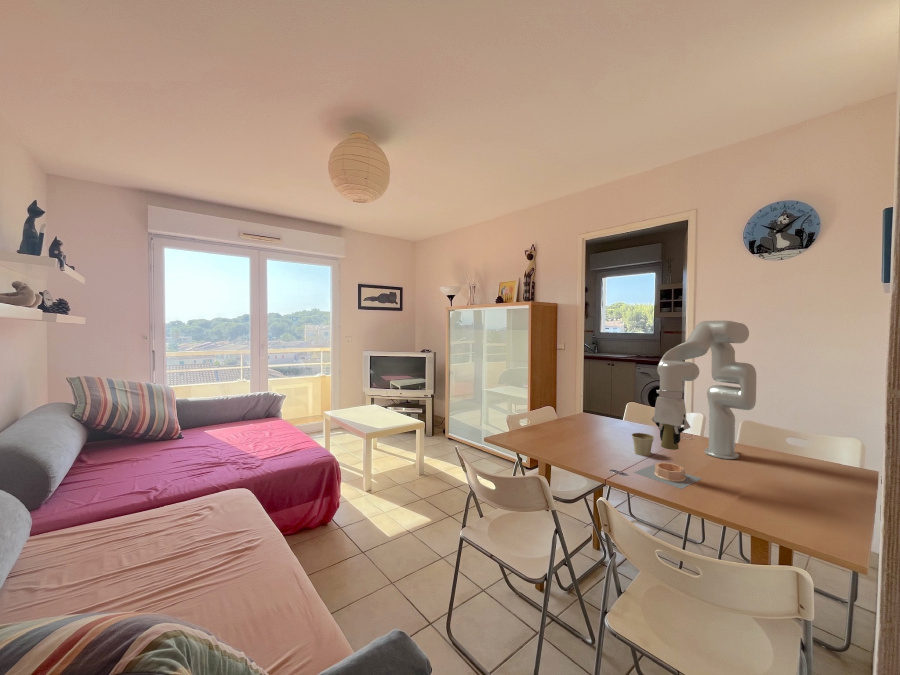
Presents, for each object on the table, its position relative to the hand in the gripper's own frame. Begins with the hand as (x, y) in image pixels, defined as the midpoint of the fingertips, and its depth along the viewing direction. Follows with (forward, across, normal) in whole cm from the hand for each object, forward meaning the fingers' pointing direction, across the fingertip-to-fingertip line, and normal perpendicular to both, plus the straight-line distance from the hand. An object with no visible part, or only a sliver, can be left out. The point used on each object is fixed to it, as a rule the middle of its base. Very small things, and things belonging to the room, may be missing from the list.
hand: (669, 441), depth 145 cm
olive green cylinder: (+2, 0, 0) cm, 3 cm away
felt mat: (+14, -1, 0) cm, 14 cm away
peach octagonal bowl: (+14, 0, 0) cm, 14 cm away
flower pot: (+14, -20, +16) cm, 30 cm away
